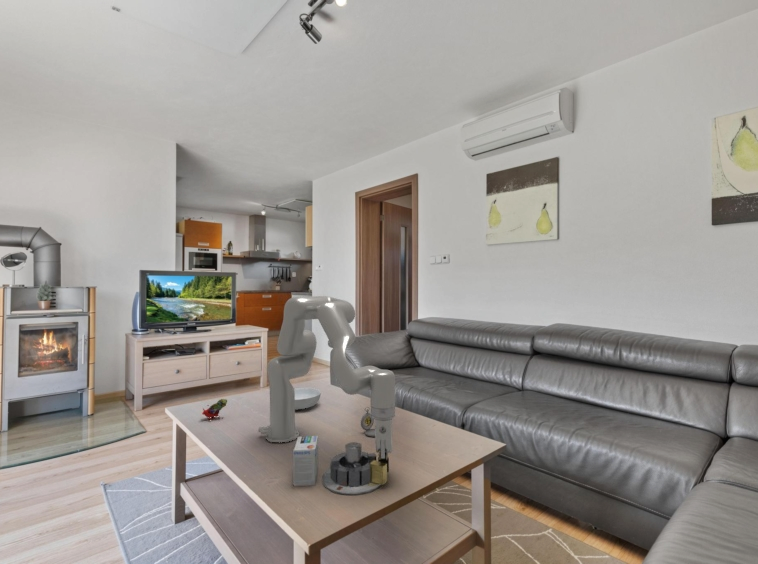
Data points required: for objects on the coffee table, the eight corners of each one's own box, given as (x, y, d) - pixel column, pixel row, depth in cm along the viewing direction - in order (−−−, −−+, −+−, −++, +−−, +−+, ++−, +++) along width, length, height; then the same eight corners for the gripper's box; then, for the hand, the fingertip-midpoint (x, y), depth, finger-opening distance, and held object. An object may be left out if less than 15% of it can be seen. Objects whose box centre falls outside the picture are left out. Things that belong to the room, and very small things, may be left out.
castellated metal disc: (329, 487, 110) (329, 469, 110) (331, 464, 124) (331, 448, 124) (387, 484, 111) (387, 466, 111) (382, 462, 126) (382, 446, 126)
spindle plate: (320, 497, 107) (320, 461, 107) (324, 465, 126) (323, 435, 126) (388, 493, 109) (387, 457, 109) (381, 462, 128) (381, 432, 128)
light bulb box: (297, 469, 124) (297, 436, 124) (318, 468, 124) (318, 435, 125) (292, 486, 113) (292, 450, 113) (315, 485, 114) (315, 449, 114)
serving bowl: (286, 400, 200) (286, 387, 200) (325, 401, 198) (325, 388, 198) (270, 413, 180) (270, 398, 180) (313, 414, 177) (313, 399, 177)
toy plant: (219, 429, 172) (230, 412, 168) (196, 423, 168) (207, 405, 164) (221, 415, 179) (233, 398, 175) (200, 409, 175) (211, 391, 171)
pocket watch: (380, 438, 149) (379, 412, 149) (359, 436, 151) (358, 411, 151) (384, 430, 157) (383, 405, 157) (364, 429, 159) (363, 404, 159)
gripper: (395, 419, 110) (395, 484, 110) (395, 403, 125) (395, 460, 125) (369, 419, 110) (369, 483, 110) (372, 403, 125) (372, 460, 125)
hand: (383, 471), depth 118 cm, fingers closed
